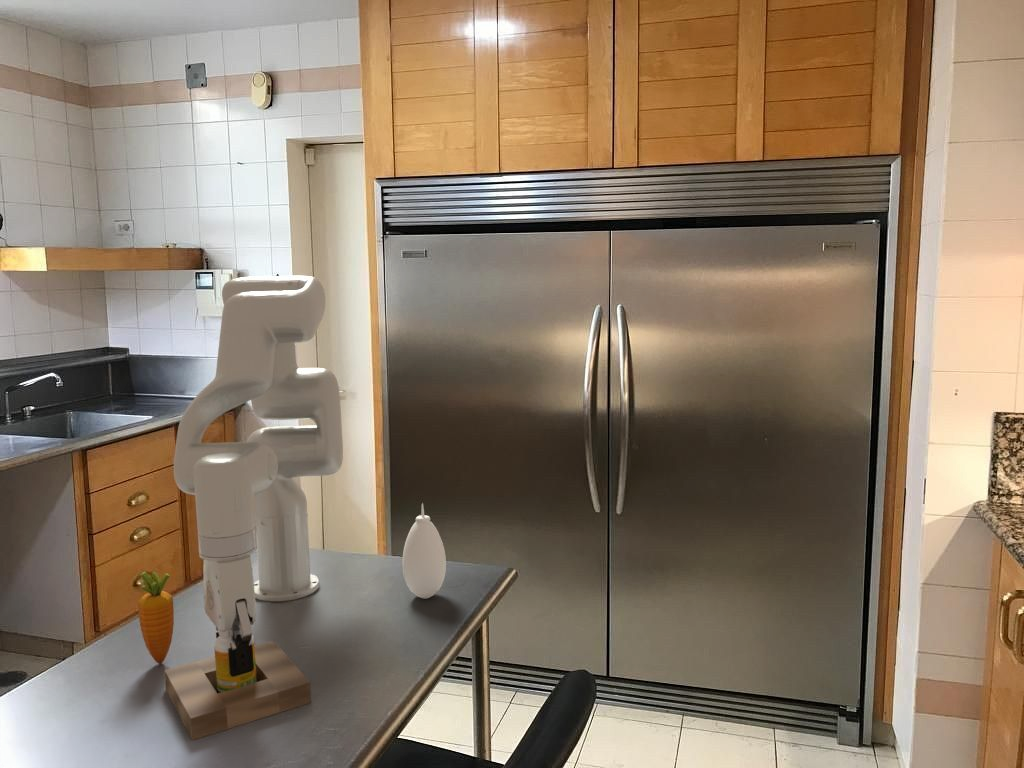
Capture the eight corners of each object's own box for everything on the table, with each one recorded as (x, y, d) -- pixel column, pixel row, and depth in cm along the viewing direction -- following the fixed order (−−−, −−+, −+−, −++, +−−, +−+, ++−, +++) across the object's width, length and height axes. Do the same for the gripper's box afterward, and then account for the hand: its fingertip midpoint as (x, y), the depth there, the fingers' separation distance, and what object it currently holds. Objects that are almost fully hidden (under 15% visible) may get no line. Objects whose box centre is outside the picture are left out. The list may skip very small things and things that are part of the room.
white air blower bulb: (454, 593, 153) (452, 500, 150) (428, 608, 146) (425, 511, 144) (422, 585, 157) (419, 494, 154) (395, 599, 150) (391, 505, 148)
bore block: (165, 689, 119) (164, 670, 118) (274, 659, 128) (273, 640, 127) (192, 740, 106) (190, 718, 105) (311, 702, 115) (310, 682, 114)
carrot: (184, 658, 128) (177, 567, 126) (161, 673, 124) (154, 578, 122) (159, 654, 130) (152, 564, 128) (135, 668, 125) (127, 575, 123)
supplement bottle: (244, 697, 114) (240, 631, 112) (209, 694, 115) (204, 628, 113) (263, 678, 119) (259, 615, 117) (230, 675, 120) (225, 612, 118)
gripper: (184, 531, 119) (193, 649, 121) (216, 566, 105) (225, 698, 107) (237, 522, 123) (244, 636, 125) (273, 553, 109) (281, 681, 111)
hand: (235, 663), depth 116 cm, fingers closed on supplement bottle, 5 cm apart
